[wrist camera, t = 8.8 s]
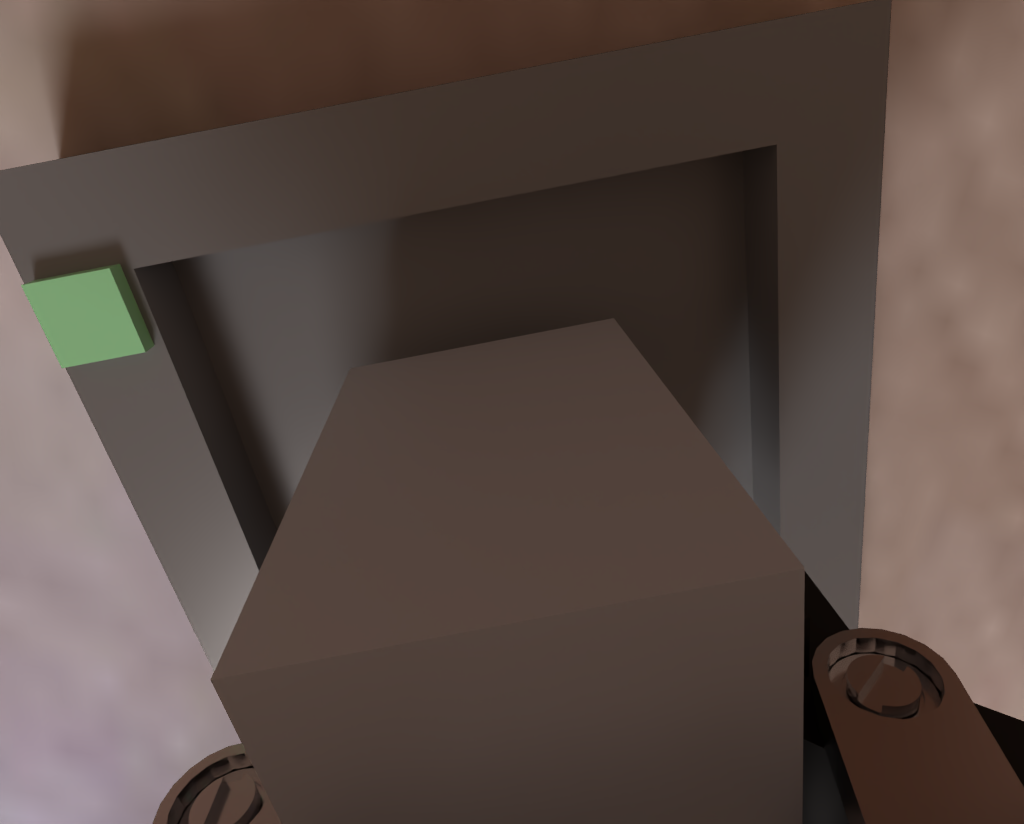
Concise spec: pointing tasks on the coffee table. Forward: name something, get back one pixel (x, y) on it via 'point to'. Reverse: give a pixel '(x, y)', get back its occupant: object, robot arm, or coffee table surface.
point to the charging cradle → (481, 273)
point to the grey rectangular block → (521, 606)
